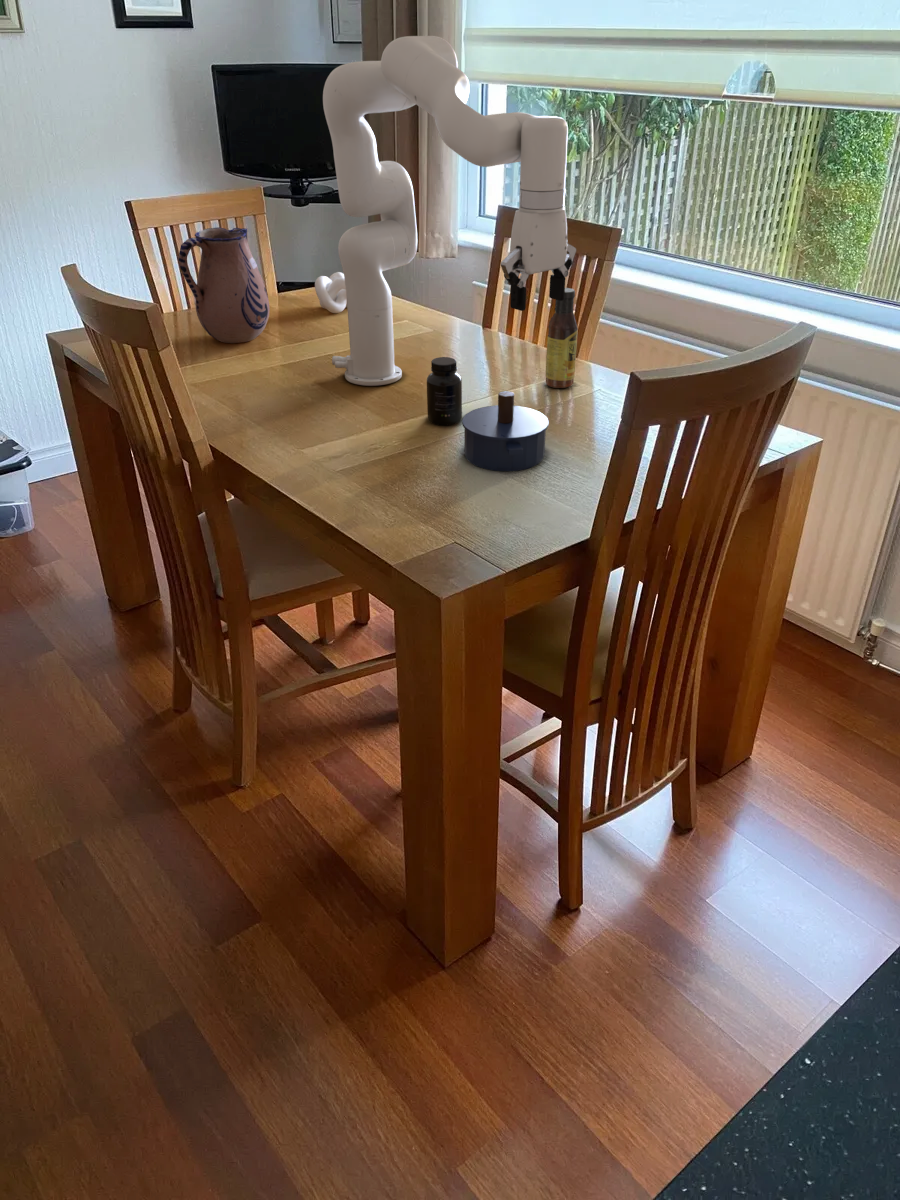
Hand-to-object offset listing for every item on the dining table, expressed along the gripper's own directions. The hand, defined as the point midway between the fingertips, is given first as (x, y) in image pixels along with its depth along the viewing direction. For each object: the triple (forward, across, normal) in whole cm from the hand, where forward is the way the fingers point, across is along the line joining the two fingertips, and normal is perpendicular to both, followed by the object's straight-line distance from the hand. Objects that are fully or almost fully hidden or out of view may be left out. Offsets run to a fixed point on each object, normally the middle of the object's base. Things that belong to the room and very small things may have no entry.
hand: (537, 304), depth 159 cm
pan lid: (+18, +12, +5) cm, 22 cm away
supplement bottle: (+24, +9, -15) cm, 30 cm away
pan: (+24, +12, +4) cm, 27 cm away
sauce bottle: (+24, -22, -14) cm, 36 cm away
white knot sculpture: (+23, -18, -95) cm, 99 cm away
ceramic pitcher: (+23, +16, -89) cm, 93 cm away
